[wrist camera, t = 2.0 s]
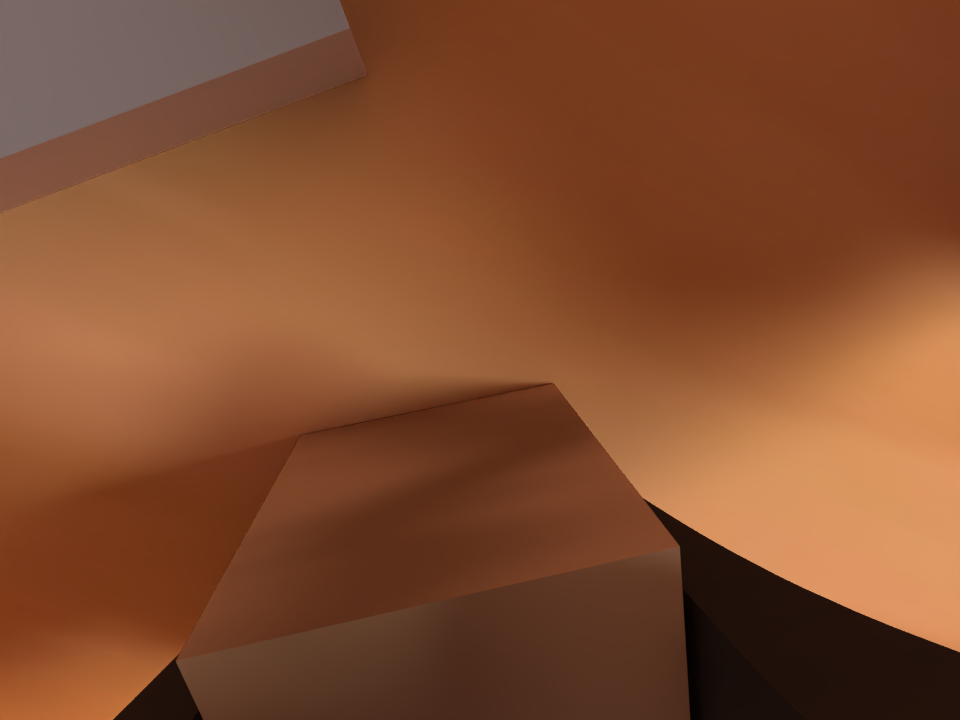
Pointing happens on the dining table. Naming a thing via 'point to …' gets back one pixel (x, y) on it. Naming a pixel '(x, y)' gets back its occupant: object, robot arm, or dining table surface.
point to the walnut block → (448, 579)
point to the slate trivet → (150, 78)
